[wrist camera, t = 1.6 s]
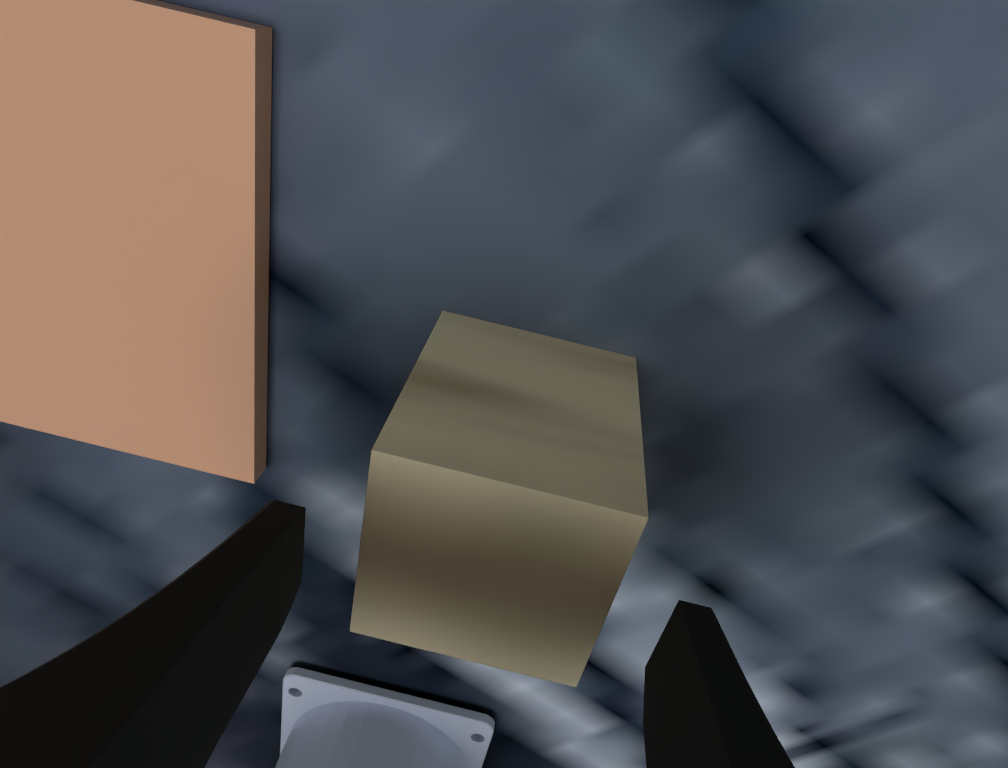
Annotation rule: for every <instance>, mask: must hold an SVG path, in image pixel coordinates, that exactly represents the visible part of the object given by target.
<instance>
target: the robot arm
mask: <svg viewBox="0 0 1008 768" xmlns="http://www.w3.org/2000/svg"><path fill="white" fill-rule="evenodd" d="M305 510H306V508H305V507H301V506H297V505H293V504H288V503H284V502H280V501H276V500H274V501H272V502H270V503H268V504H267V505H266V506H265V507H264V508H262V509H261V510H260V511H259V512H258V513H257V514H256V515H254V516H253V517H252V518H251V519H250V520H249V521H247V522H246V523H245V524H244V525H243V526H242V527H240V528H239V529H238V530H237V531H236V532H234V533H233V534H232V535H231V536H230V537H228V538H227V539H226V540H225V541H224V542H222V543H221V544H220V545H219V546H217V547H216V548H215V549H214V550H213V551H211V552H210V553H209V554H207V555H206V556H205V557H204V558H202V559H201V560H200V561H198V562H197V563H196V564H195V565H193V566H192V567H191V568H189V569H188V570H187V571H186V572H184V573H183V574H182V575H180V576H179V577H178V578H176V579H175V580H174V581H172V582H171V583H170V584H168V585H167V586H165V587H164V588H162V589H161V590H160V591H158V592H157V593H155V594H154V595H153V596H151V597H150V598H148V599H147V600H146V601H144V602H143V603H141V604H140V605H138V606H137V607H136V608H134V609H133V610H131V611H130V612H128V613H127V614H125V615H124V616H122V617H121V618H119V619H118V620H116V621H115V622H113V623H112V624H110V625H109V626H107V627H105V628H104V629H102V630H101V631H99V632H97V633H96V634H94V635H93V636H91V637H89V638H88V639H86V640H84V641H83V642H81V643H79V644H78V645H76V646H75V647H73V648H71V649H69V650H68V651H66V652H64V653H62V654H61V655H59V656H57V657H55V658H54V659H52V660H50V661H48V662H46V663H45V664H43V665H41V666H39V667H38V668H36V669H34V670H32V671H31V672H29V673H27V674H25V675H23V676H21V677H19V678H18V679H16V680H14V681H12V682H10V683H8V684H6V685H4V686H2V687H0V768H204V767H205V765H206V763H207V762H208V760H209V758H210V756H211V754H212V752H213V750H214V748H215V746H216V744H217V742H218V741H219V739H220V737H221V735H222V734H223V732H224V730H225V728H226V727H227V725H228V723H229V721H230V720H231V718H232V716H233V714H234V713H235V711H236V709H237V707H238V706H239V704H240V702H241V700H242V698H243V697H244V695H245V693H246V691H247V690H248V688H249V686H250V684H251V683H252V681H253V679H254V677H255V676H256V674H257V672H258V670H259V669H260V667H261V665H262V663H263V662H264V660H265V658H266V656H267V654H268V653H269V651H270V649H271V647H272V646H273V644H274V642H275V640H276V638H277V637H278V635H279V633H280V631H281V629H282V626H283V624H284V622H285V620H286V617H287V615H288V613H289V610H290V608H291V606H292V603H293V601H294V599H295V596H296V594H297V591H298V589H299V587H300V584H301V582H302V565H303V547H304V528H305ZM494 725H495V722H494V720H493V718H492V717H490V716H489V715H487V714H484V713H480V712H476V711H472V710H468V709H464V708H460V707H456V706H452V705H448V704H444V703H440V702H436V701H432V700H428V699H424V698H420V697H416V696H412V695H408V694H404V693H400V692H396V691H392V690H388V689H384V688H380V687H376V686H372V685H368V684H364V683H360V682H356V681H352V680H348V679H344V678H340V677H336V676H332V675H328V674H324V673H320V672H316V671H312V670H308V669H304V668H300V667H293V668H290V669H288V670H287V672H286V674H285V676H284V679H283V693H282V718H281V743H280V757H279V760H278V762H277V764H276V767H275V768H482V765H483V762H484V759H485V756H486V753H487V750H488V747H489V744H490V741H491V738H492V735H493V732H494ZM643 725H644V739H645V752H646V765H647V768H795V767H794V765H793V764H792V762H791V760H790V759H789V757H788V755H787V754H786V752H785V750H784V748H783V747H782V745H781V743H780V741H779V740H778V738H777V736H776V734H775V732H774V731H773V729H772V727H771V725H770V723H769V721H768V719H767V718H766V716H765V714H764V712H763V710H762V708H761V706H760V705H759V703H758V701H757V699H756V697H755V695H754V693H753V691H752V689H751V687H750V685H749V684H748V682H747V680H746V678H745V676H744V674H743V672H742V670H741V667H740V665H739V663H738V661H737V659H736V657H735V655H734V653H733V651H732V649H731V647H730V645H729V643H728V641H727V639H726V637H725V635H724V633H723V630H722V628H721V626H720V624H719V622H718V620H717V618H716V616H715V614H714V612H713V610H712V609H711V608H710V607H705V606H701V605H697V604H693V603H689V602H685V601H681V600H679V601H678V603H677V605H676V607H675V609H674V611H673V613H672V615H671V617H670V619H669V621H668V623H667V625H666V627H665V629H664V631H663V633H662V635H661V637H660V639H659V641H658V643H657V645H656V647H655V649H654V651H653V653H652V655H651V657H650V659H649V661H648V663H647V665H646V667H645V685H644V716H643Z"/></svg>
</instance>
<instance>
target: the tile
mask: <svg viewBox="0 0 1008 768" xmlns="http://www.w3.org/2000/svg"><path fill="white" fill-rule="evenodd" d="M271 90H272V27H268V26H264V25H259V24H255V23H251V22H247V21H243V20H238V19H234V18H230V17H226V16H222V15H217V14H213V13H209V12H205V11H201V10H196V9H192V8H188V7H184V6H180V5H175V4H171V3H167V2H163V1H158V0H0V421H1V422H5V423H9V424H13V425H17V426H21V427H25V428H29V429H34V430H38V431H42V432H46V433H50V434H54V435H58V436H62V437H66V438H70V439H74V440H78V441H82V442H86V443H90V444H94V445H98V446H103V447H107V448H111V449H115V450H119V451H123V452H127V453H131V454H135V455H139V456H143V457H147V458H151V459H155V460H159V461H163V462H168V463H172V464H176V465H180V466H184V467H188V468H192V469H196V470H200V471H204V472H208V473H212V474H216V475H220V476H224V477H228V478H232V479H237V480H241V481H245V482H249V483H253V484H254V483H255V482H256V481H257V479H258V478H259V476H260V475H261V474H262V472H263V471H264V469H265V468H266V441H267V371H268V301H269V231H270V160H271Z"/></svg>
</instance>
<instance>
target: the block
mask: <svg viewBox="0 0 1008 768" xmlns="http://www.w3.org/2000/svg"><path fill="white" fill-rule="evenodd" d="M648 518H649V516H648V504H647V491H646V478H645V466H644V453H643V440H642V428H641V415H640V402H639V390H638V377H637V364H636V357H631V356H627V355H623V354H619V353H615V352H611V351H607V350H603V349H599V348H595V347H590V346H586V345H582V344H578V343H574V342H570V341H566V340H562V339H558V338H553V337H549V336H545V335H541V334H537V333H533V332H529V331H525V330H521V329H517V328H512V327H508V326H504V325H500V324H496V323H492V322H488V321H484V320H480V319H476V318H471V317H467V316H463V315H459V314H455V313H451V312H447V311H442V313H441V315H440V317H439V319H438V321H437V323H436V325H435V327H434V329H433V331H432V333H431V334H430V336H429V338H428V340H427V342H426V344H425V346H424V348H423V350H422V352H421V354H420V356H419V358H418V360H417V362H416V364H415V366H414V368H413V370H412V372H411V374H410V376H409V378H408V380H407V382H406V383H405V385H404V387H403V389H402V391H401V393H400V395H399V397H398V399H397V401H396V403H395V405H394V407H393V409H392V411H391V413H390V415H389V417H388V419H387V421H386V423H385V425H384V427H383V429H382V430H381V432H380V434H379V436H378V438H377V440H376V442H375V444H374V446H373V448H372V451H371V459H370V467H369V476H368V484H367V492H366V500H365V509H364V517H363V525H362V534H361V542H360V550H359V559H358V567H357V575H356V583H355V592H354V600H353V608H352V617H351V625H350V632H355V633H359V634H363V635H367V636H371V637H375V638H379V639H383V640H387V641H391V642H395V643H399V644H403V645H407V646H411V647H415V648H419V649H423V650H427V651H431V652H435V653H439V654H443V655H447V656H451V657H455V658H459V659H463V660H468V661H472V662H476V663H480V664H484V665H488V666H492V667H496V668H500V669H504V670H508V671H512V672H516V673H520V674H524V675H528V676H532V677H536V678H540V679H544V680H548V681H552V682H556V683H560V684H564V685H568V686H572V687H577V684H578V682H579V680H580V677H581V675H582V673H583V670H584V668H585V666H586V663H587V661H588V659H589V656H590V654H591V652H592V649H593V647H594V645H595V642H596V640H597V638H598V635H599V633H600V631H601V628H602V626H603V624H604V621H605V619H606V616H607V614H608V612H609V609H610V607H611V605H612V602H613V600H614V598H615V595H616V593H617V591H618V588H619V586H620V584H621V581H622V579H623V577H624V574H625V572H626V570H627V567H628V565H629V563H630V560H631V558H632V556H633V553H634V551H635V549H636V546H637V544H638V542H639V539H640V537H641V535H642V532H643V530H644V527H645V525H646V523H647V520H648Z"/></svg>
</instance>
